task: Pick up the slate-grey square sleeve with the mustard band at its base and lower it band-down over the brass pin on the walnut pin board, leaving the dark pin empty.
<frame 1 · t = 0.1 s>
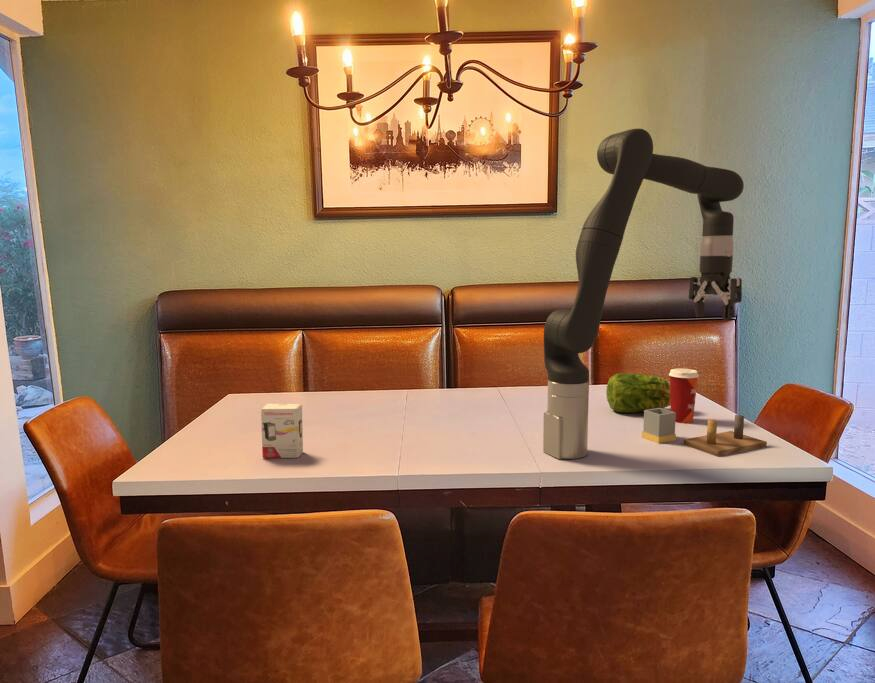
hand: (713, 318, 155), 29 cm above the table, fingers open, 8 cm apart
paper cup: (681, 421, 167), on the table
ink box: (283, 456, 142), on the table
sleeve: (658, 438, 151), on the table
pin board: (724, 445, 145), on the table
lettuce: (642, 412, 177), on the table
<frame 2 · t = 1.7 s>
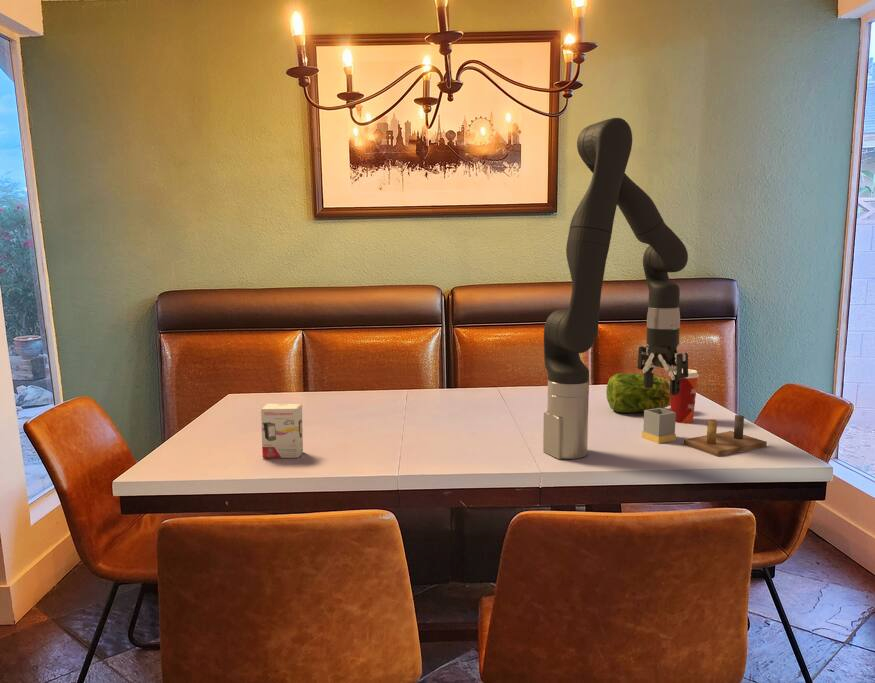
hand: (661, 391, 149), 12 cm above the table, fingers open, 8 cm apart
nothing on the table moved.
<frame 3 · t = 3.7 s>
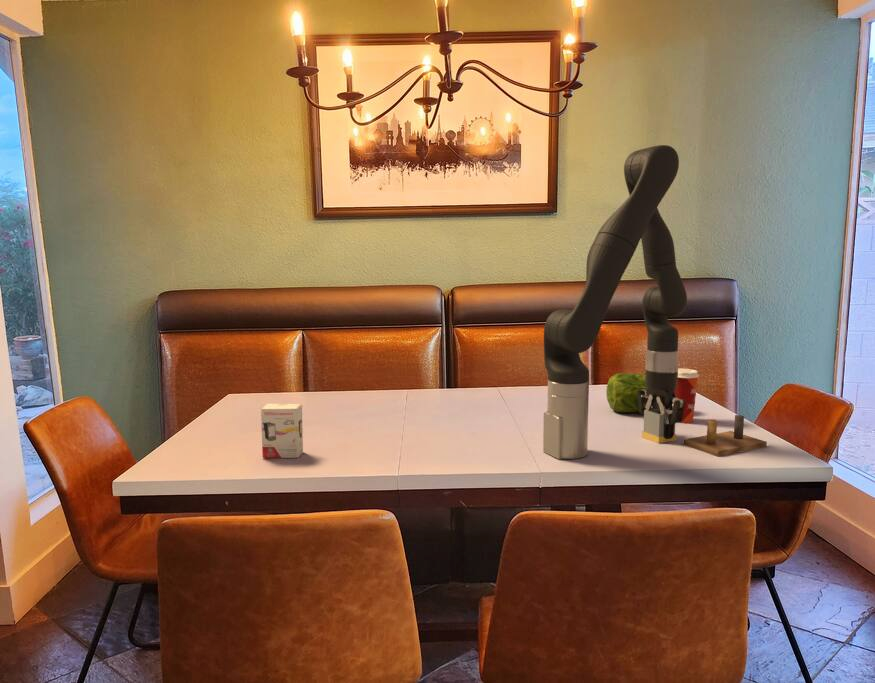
hand: (659, 434, 151), 1 cm above the table, fingers closed on sleeve, 5 cm apart
sleeve: (658, 438, 151), on the table, touching gripper
everything else where it was.
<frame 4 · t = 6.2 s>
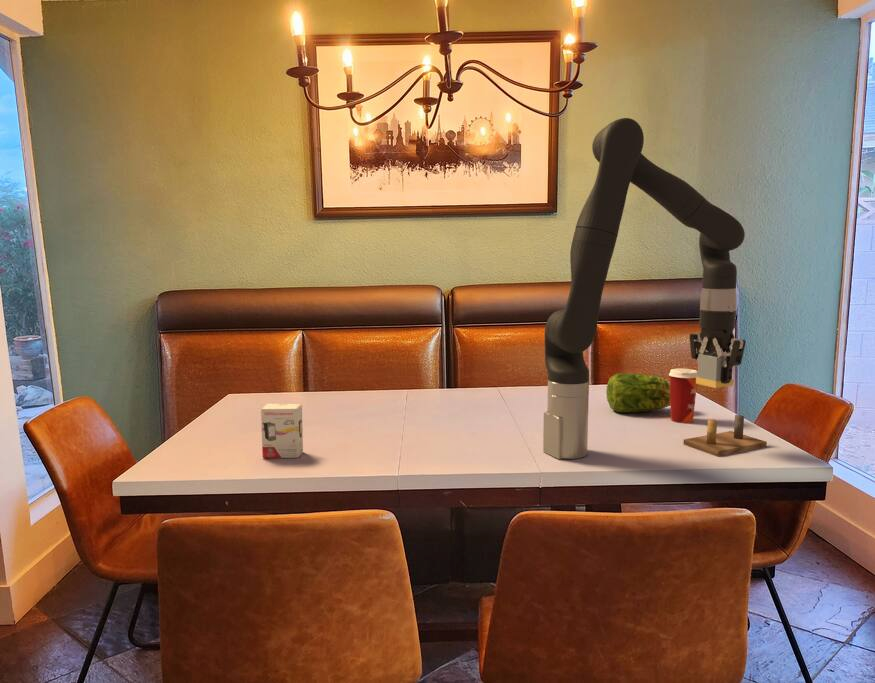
hand: (714, 380, 141), 16 cm above the table, fingers closed on sleeve, 5 cm apart
sleeve: (714, 384, 141), point 15 cm above the table, touching gripper
everything else where it was.
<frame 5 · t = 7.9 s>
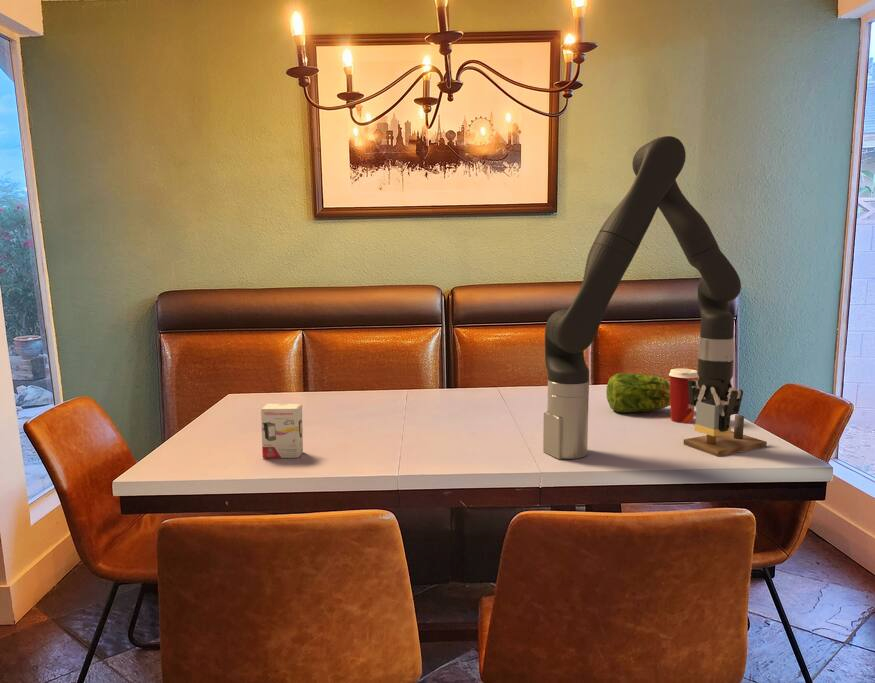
hand: (712, 427, 143), 5 cm above the table, fingers closed on sleeve, 5 cm apart
sleeve: (712, 431, 143), point 4 cm above the table, touching gripper
everything else where it was.
when the fingers open (3 cm above the table, at t = 9.2 s): sleeve stays where it is, resting on pin board.
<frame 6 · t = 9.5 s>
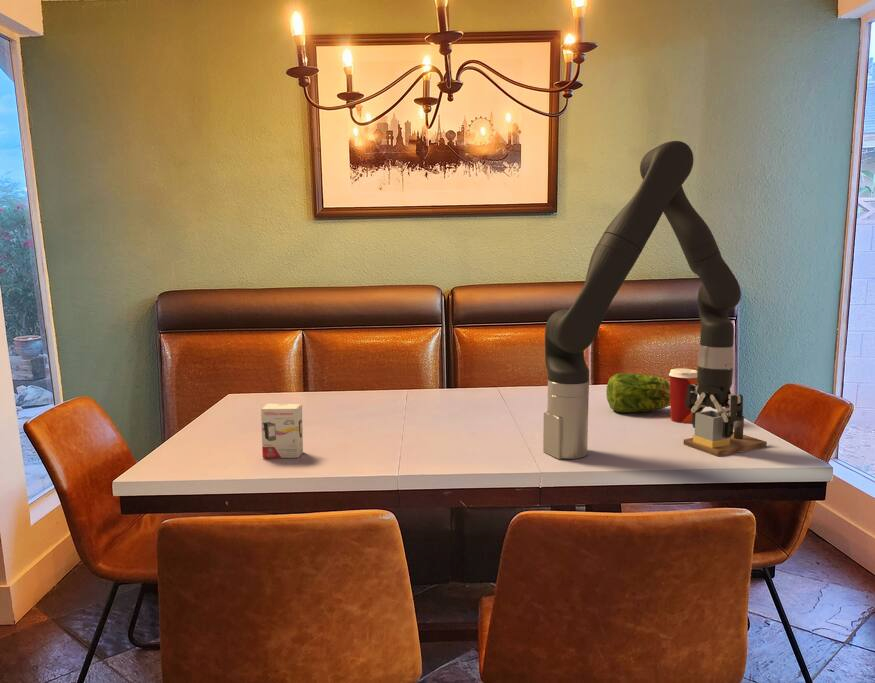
hand: (711, 432, 143), 4 cm above the table, fingers open, 8 cm apart
sleeve: (711, 443, 143), point 1 cm above the table, touching pin board
everything else where it was.
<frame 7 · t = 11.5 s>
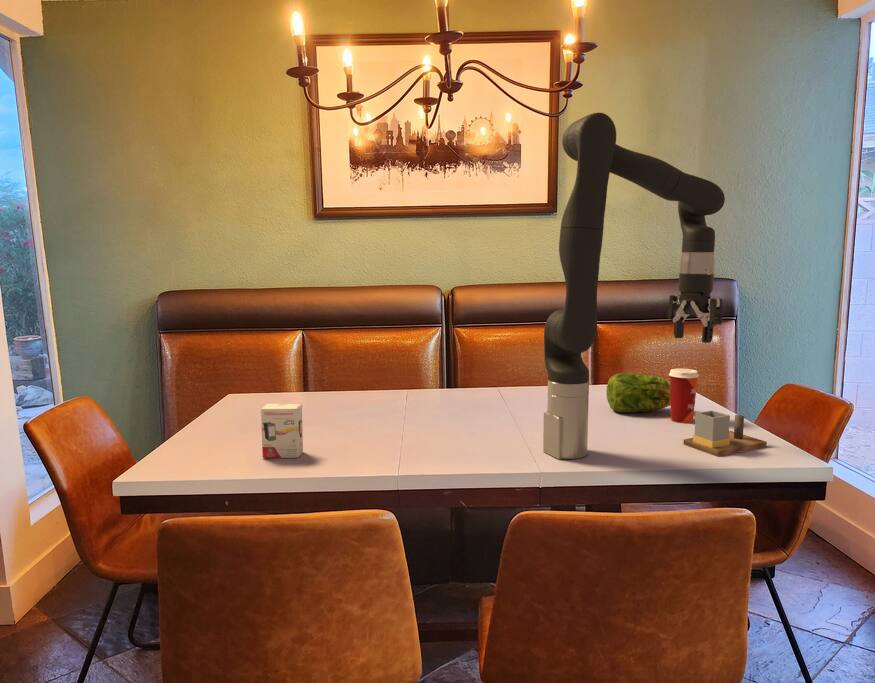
hand: (692, 340, 145), 25 cm above the table, fingers open, 8 cm apart
nothing on the table moved.
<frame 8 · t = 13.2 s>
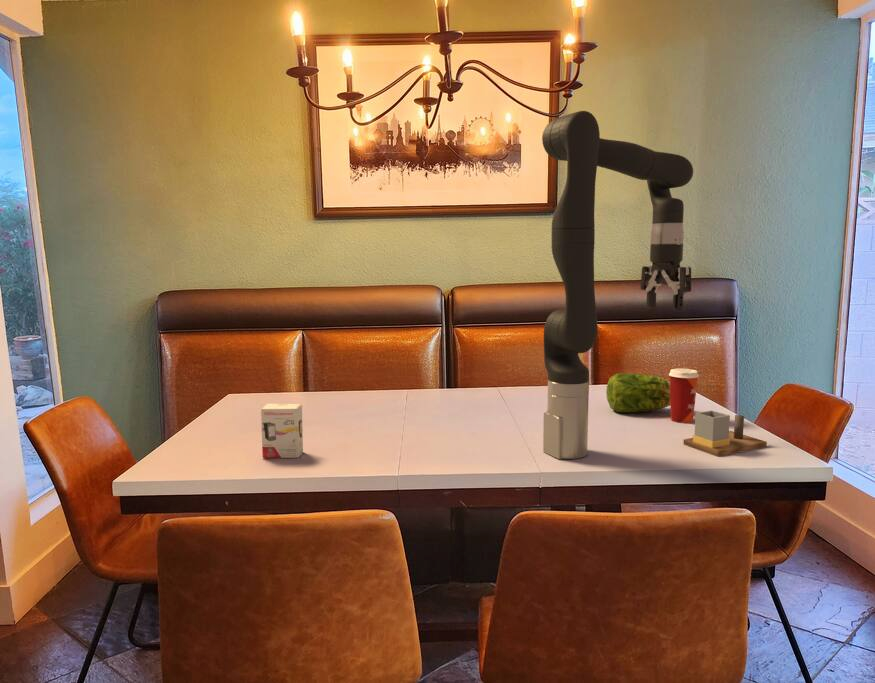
hand: (664, 308, 150), 32 cm above the table, fingers open, 8 cm apart
nothing on the table moved.
at the end: sleeve 0.1 cm from the target spot on the pin board, point 1.2 cm above the pin board's base; sleeve tilted 0°; the gripper is holding nothing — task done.
